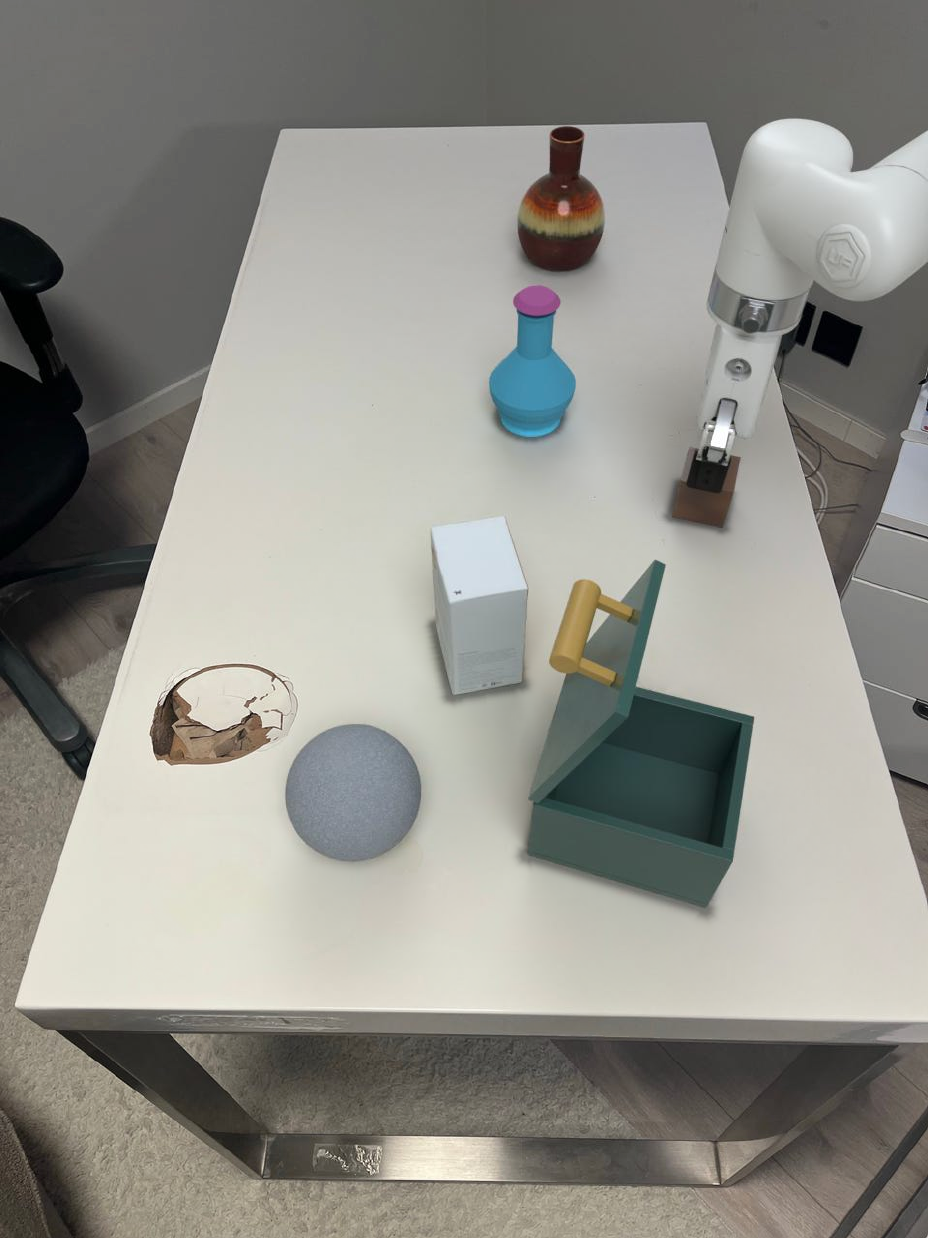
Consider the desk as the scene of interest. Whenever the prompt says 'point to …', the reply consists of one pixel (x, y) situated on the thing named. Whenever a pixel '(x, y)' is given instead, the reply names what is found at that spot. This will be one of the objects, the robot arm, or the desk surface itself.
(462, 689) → the small box
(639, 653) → the lid
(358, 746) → the decorative stone
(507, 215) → the desk surface
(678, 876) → the green hollow open box
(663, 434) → the desk surface
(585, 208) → the vase
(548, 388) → the perfume bottle
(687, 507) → the block
